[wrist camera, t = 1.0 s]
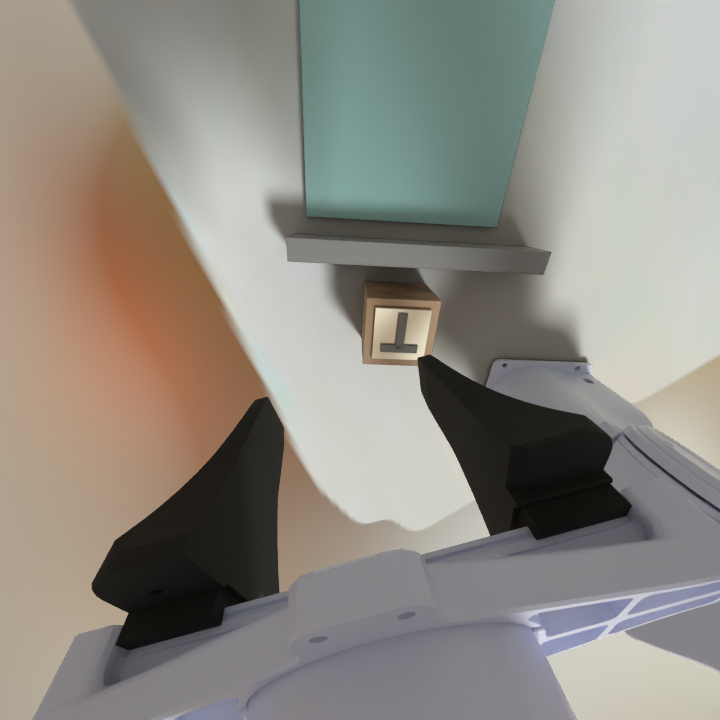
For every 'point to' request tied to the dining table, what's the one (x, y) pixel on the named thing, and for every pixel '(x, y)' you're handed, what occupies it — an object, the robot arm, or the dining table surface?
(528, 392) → the robot arm
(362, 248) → the long grey bar
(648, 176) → the dining table surface
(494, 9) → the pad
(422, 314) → the letter cube
